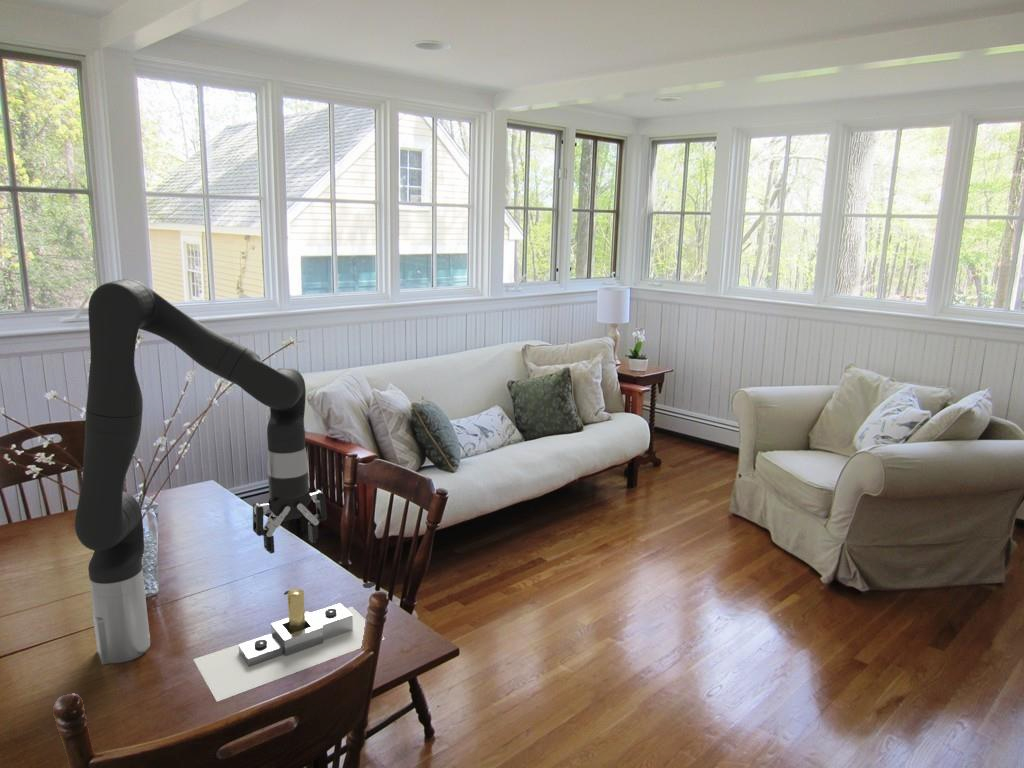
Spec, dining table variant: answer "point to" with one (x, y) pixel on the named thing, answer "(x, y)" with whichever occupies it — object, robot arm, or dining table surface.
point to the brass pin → (296, 610)
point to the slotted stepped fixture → (297, 635)
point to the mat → (272, 662)
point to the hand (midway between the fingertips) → (292, 546)
